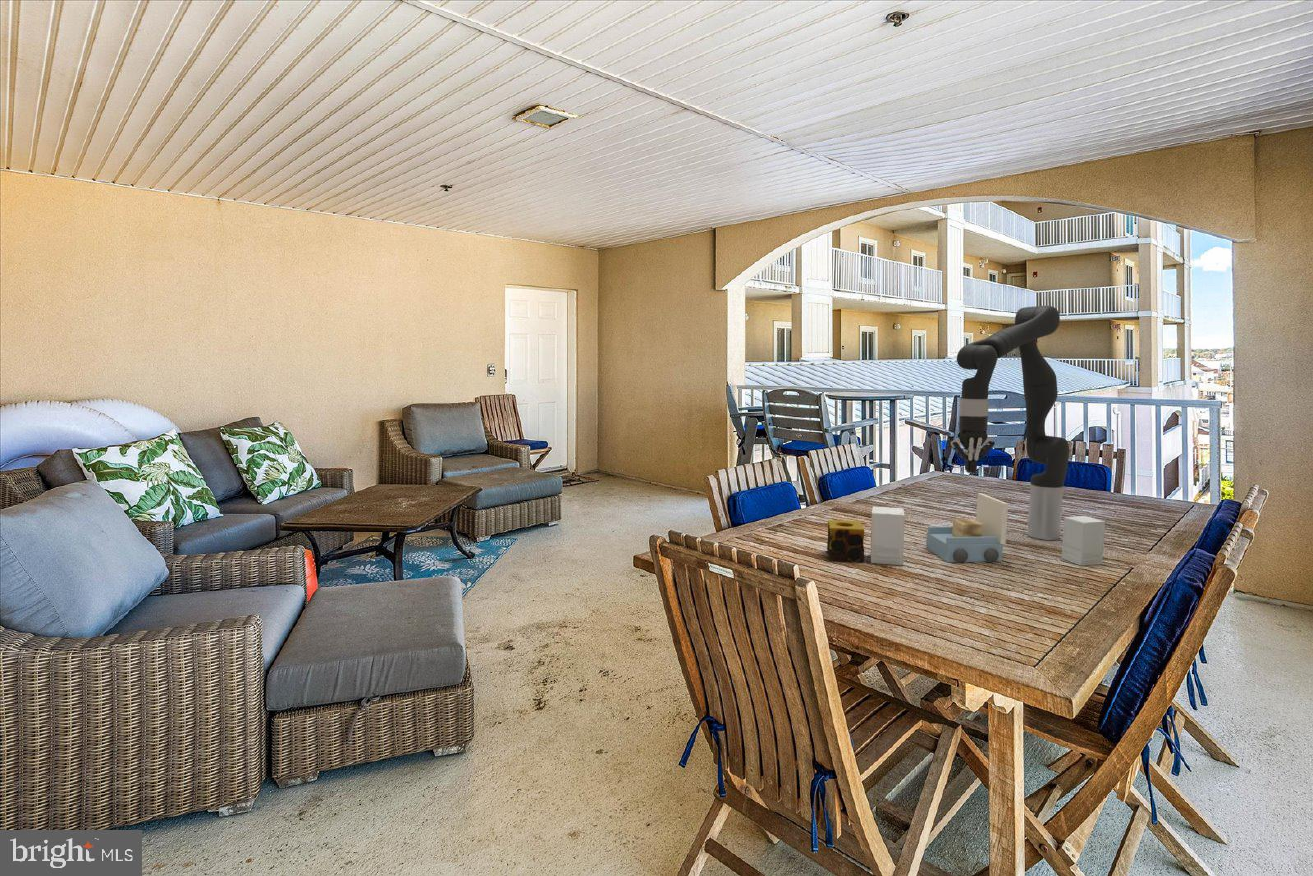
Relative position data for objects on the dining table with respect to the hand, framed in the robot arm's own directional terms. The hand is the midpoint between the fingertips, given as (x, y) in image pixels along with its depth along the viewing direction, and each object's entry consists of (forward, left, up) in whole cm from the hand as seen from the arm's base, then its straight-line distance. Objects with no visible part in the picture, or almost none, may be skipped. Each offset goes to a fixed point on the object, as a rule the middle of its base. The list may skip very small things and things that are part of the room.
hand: (970, 472), depth 194 cm
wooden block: (0, 0, -20) cm, 20 cm away
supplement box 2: (-17, +26, -25) cm, 40 cm away
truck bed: (+1, -1, -25) cm, 25 cm away
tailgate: (-5, +5, -21) cm, 22 cm away
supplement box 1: (+22, -14, -25) cm, 36 cm away
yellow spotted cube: (+28, -24, -25) cm, 45 cm away
